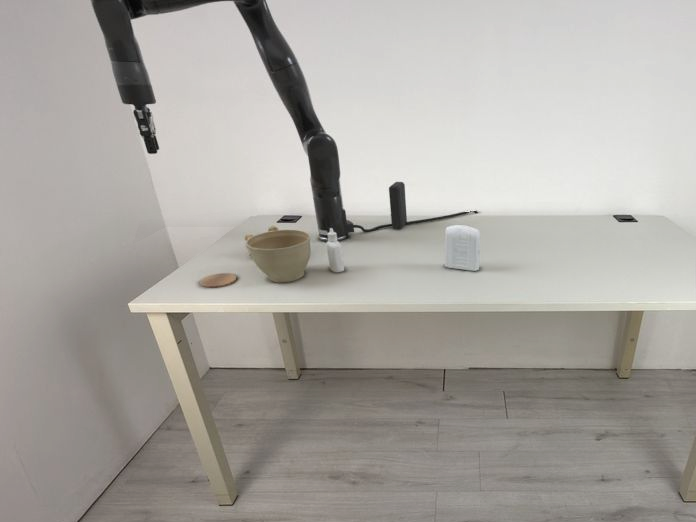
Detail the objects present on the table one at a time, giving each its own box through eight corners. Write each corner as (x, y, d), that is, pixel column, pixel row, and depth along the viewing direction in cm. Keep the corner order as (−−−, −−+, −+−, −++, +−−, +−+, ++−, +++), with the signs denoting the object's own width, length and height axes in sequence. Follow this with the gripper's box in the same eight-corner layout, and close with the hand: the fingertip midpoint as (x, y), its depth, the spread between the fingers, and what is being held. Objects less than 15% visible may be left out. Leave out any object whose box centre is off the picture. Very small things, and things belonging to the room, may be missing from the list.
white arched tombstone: (481, 267, 138) (482, 225, 131) (477, 272, 134) (477, 229, 128) (448, 263, 140) (447, 222, 134) (443, 268, 137) (442, 226, 130)
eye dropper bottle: (346, 265, 138) (340, 225, 132) (343, 272, 134) (337, 231, 127) (330, 266, 138) (324, 225, 132) (328, 273, 133) (321, 231, 127)
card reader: (397, 222, 177) (394, 181, 169) (407, 222, 177) (405, 181, 169) (390, 229, 169) (387, 186, 162) (401, 230, 169) (398, 186, 161)
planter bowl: (254, 270, 135) (245, 233, 129) (312, 263, 140) (305, 226, 135) (256, 292, 122) (246, 251, 116) (320, 282, 127) (313, 243, 122)
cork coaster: (235, 272, 133) (234, 271, 133) (237, 283, 127) (237, 282, 126) (200, 278, 130) (199, 276, 130) (200, 289, 123) (200, 288, 123)
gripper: (148, 83, 115) (168, 154, 123) (152, 83, 126) (170, 148, 134) (112, 82, 112) (135, 155, 120) (119, 82, 123) (140, 149, 131)
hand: (154, 151), depth 127 cm, fingers open, 8 cm apart
